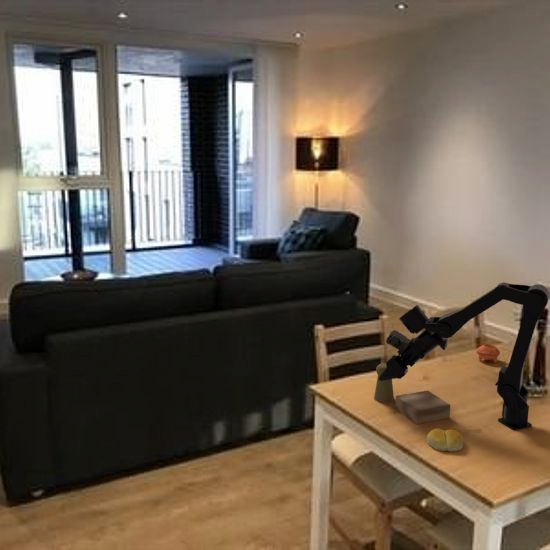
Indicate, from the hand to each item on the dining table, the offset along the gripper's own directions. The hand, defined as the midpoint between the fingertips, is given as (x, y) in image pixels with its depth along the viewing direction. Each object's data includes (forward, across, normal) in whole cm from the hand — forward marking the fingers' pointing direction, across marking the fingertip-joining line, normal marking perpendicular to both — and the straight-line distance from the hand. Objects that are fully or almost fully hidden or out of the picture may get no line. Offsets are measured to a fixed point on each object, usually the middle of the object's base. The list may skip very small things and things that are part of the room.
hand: (384, 374), depth 181 cm
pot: (-11, -49, +22) cm, 55 cm away
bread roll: (-11, +21, +22) cm, 32 cm away
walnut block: (-4, +5, +15) cm, 16 cm away
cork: (+6, 0, +6) cm, 8 cm away
